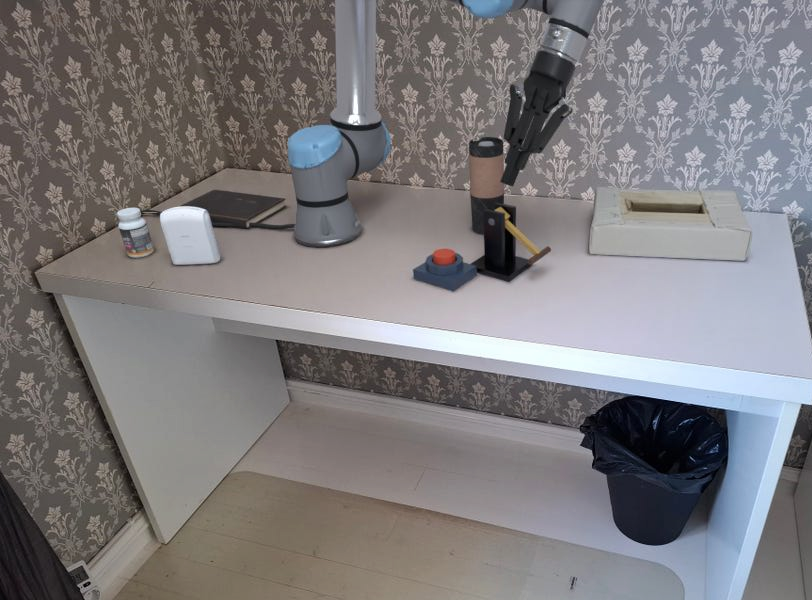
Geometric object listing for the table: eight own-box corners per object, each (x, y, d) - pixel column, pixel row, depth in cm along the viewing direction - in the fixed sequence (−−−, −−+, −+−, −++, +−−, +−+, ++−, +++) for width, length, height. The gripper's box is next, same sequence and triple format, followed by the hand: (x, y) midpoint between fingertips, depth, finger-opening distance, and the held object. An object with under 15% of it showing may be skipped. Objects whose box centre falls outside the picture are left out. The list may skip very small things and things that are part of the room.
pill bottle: (123, 254, 153) (109, 212, 147) (147, 246, 156) (134, 204, 151) (134, 260, 149) (120, 218, 144) (159, 252, 153) (146, 210, 147)
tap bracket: (532, 265, 140) (533, 205, 133) (508, 282, 134) (508, 220, 127) (492, 254, 145) (491, 197, 138) (467, 270, 139) (465, 210, 132)
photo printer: (170, 266, 146) (153, 211, 139) (177, 258, 150) (161, 204, 143) (217, 265, 146) (203, 210, 139) (223, 256, 149) (210, 202, 143)
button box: (413, 279, 137) (412, 261, 135) (437, 264, 142) (436, 246, 140) (453, 291, 132) (452, 272, 129) (476, 275, 137) (476, 257, 135)
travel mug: (501, 235, 154) (500, 146, 143) (468, 234, 155) (465, 146, 144) (506, 223, 160) (506, 136, 149) (474, 221, 161) (472, 136, 150)
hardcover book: (216, 197, 182) (214, 189, 181) (286, 207, 174) (285, 198, 173) (173, 218, 170) (170, 210, 169) (247, 230, 162) (245, 220, 161)
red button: (428, 262, 135) (428, 254, 134) (442, 254, 137) (441, 246, 136) (446, 267, 132) (446, 259, 131) (459, 259, 135) (459, 251, 134)
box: (588, 256, 143) (748, 262, 137) (590, 221, 139) (755, 225, 133) (590, 217, 162) (731, 220, 157) (592, 185, 158) (737, 187, 153)
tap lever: (547, 255, 135) (553, 247, 134) (529, 268, 131) (535, 260, 129) (501, 211, 137) (507, 202, 135) (482, 222, 132) (487, 213, 131)
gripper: (518, 40, 120) (469, 168, 127) (580, 61, 114) (525, 194, 122) (536, 52, 126) (489, 174, 134) (596, 73, 121) (543, 199, 128)
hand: (506, 184), depth 128 cm, fingers closed
